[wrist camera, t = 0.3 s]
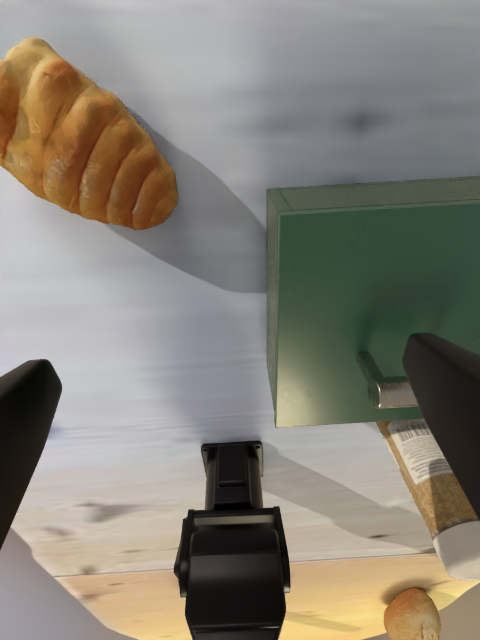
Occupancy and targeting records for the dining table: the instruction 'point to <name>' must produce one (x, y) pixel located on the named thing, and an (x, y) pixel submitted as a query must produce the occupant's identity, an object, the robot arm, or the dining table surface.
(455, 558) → the sprinkles bottle
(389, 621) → the bread roll
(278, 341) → the lid
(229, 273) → the dining table surface
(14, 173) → the pastry
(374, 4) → the dining table surface
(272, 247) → the caddy
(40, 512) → the dining table surface
